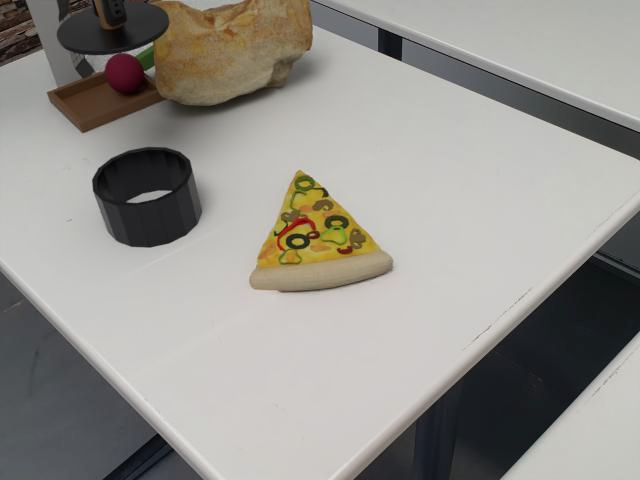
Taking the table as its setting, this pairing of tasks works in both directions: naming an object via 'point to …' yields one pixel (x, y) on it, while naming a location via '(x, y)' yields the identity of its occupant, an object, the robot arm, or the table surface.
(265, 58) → the bread loaf
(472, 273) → the table surface
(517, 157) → the table surface
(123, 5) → the robot arm
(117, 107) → the tray
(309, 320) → the table surface
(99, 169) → the pot
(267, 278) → the pizza slice
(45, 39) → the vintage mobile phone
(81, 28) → the lid
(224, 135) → the table surface
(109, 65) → the beet
